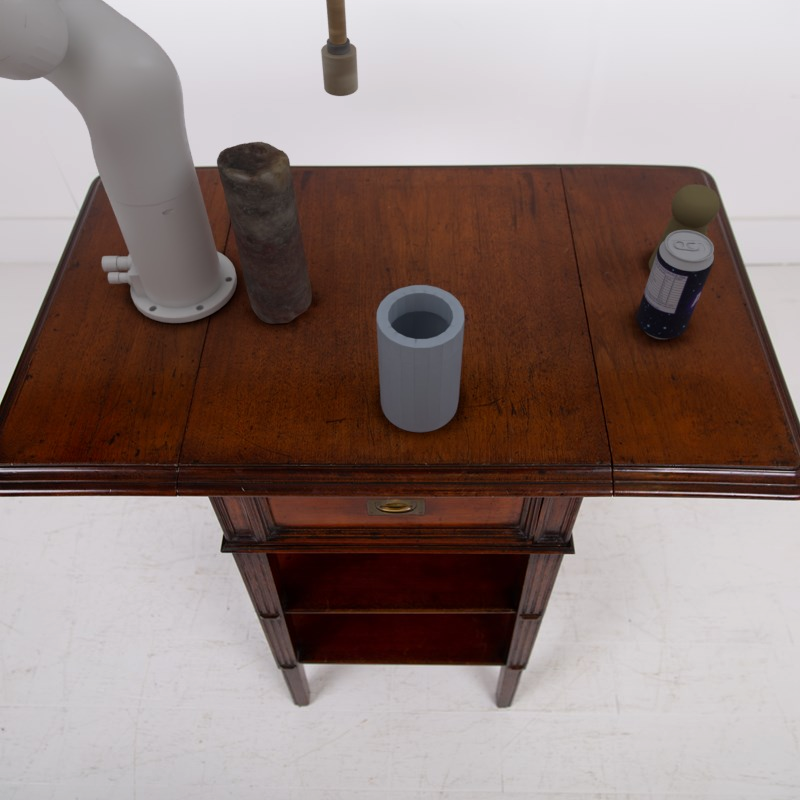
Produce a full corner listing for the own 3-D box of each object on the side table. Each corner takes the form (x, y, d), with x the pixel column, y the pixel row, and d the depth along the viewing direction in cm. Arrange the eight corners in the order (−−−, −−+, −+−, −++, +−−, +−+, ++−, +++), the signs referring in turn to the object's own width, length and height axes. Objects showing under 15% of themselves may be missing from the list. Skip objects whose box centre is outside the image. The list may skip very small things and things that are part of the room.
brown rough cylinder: (244, 290, 92) (209, 144, 76) (302, 275, 93) (280, 128, 78) (259, 332, 87) (225, 186, 72) (320, 316, 89) (300, 169, 73)
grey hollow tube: (380, 433, 78) (376, 348, 68) (381, 373, 83) (376, 285, 73) (460, 431, 78) (467, 346, 68) (455, 371, 83) (461, 284, 73)
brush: (323, 96, 88) (309, -60, 75) (325, 79, 90) (312, -76, 78) (357, 96, 88) (350, -61, 75) (358, 78, 90) (351, -76, 78)
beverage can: (685, 347, 85) (719, 266, 76) (634, 340, 86) (661, 259, 76) (684, 312, 89) (716, 230, 79) (634, 305, 89) (660, 224, 80)
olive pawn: (645, 277, 92) (669, 203, 84) (651, 246, 96) (675, 172, 87) (696, 288, 91) (726, 213, 82) (700, 256, 95) (729, 182, 86)
